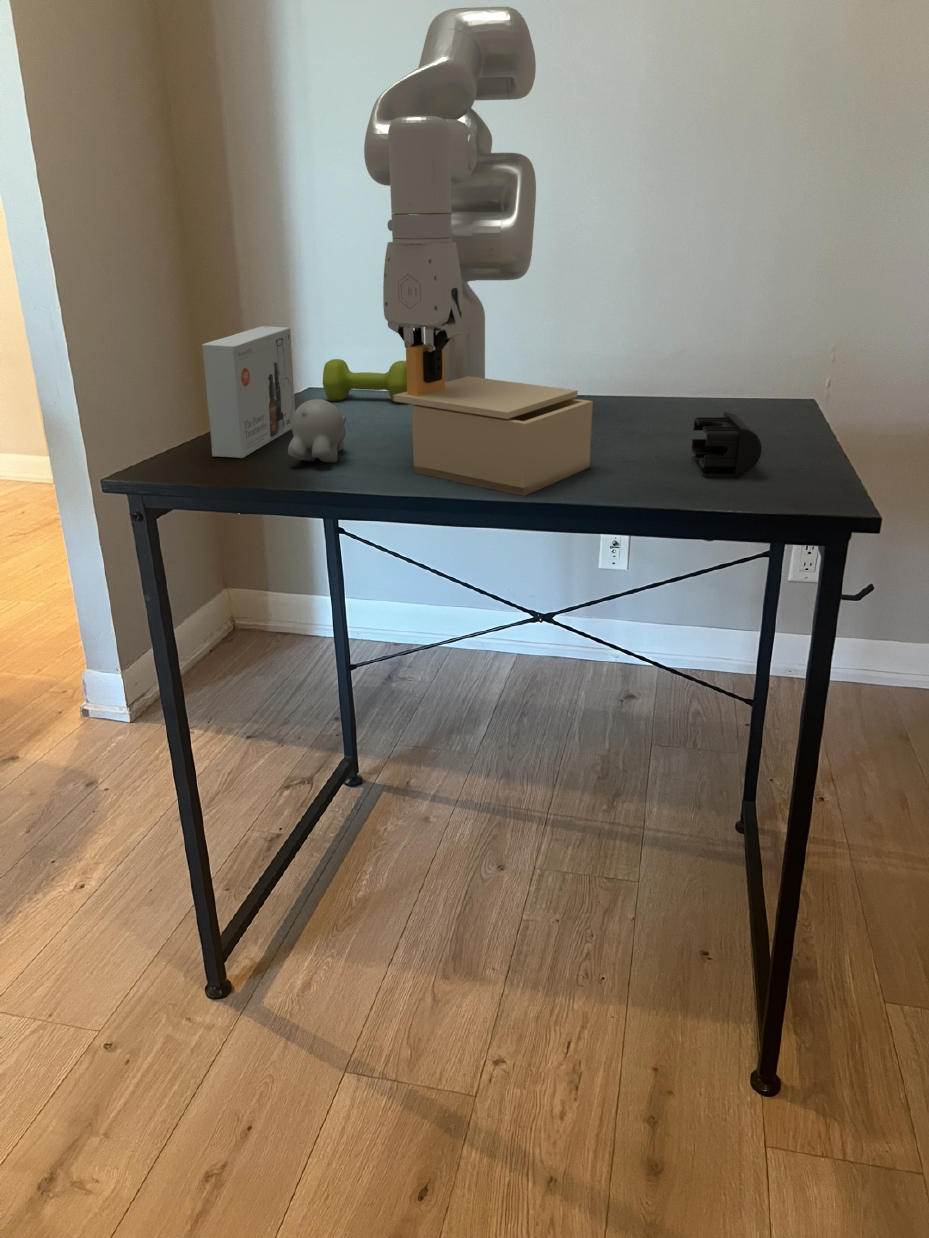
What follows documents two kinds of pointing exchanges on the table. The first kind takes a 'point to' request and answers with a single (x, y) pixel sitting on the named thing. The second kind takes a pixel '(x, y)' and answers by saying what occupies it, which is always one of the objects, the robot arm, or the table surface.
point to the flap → (475, 392)
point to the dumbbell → (362, 380)
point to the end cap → (725, 447)
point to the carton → (503, 446)
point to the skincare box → (249, 389)
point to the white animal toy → (317, 431)
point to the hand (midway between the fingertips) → (426, 379)
